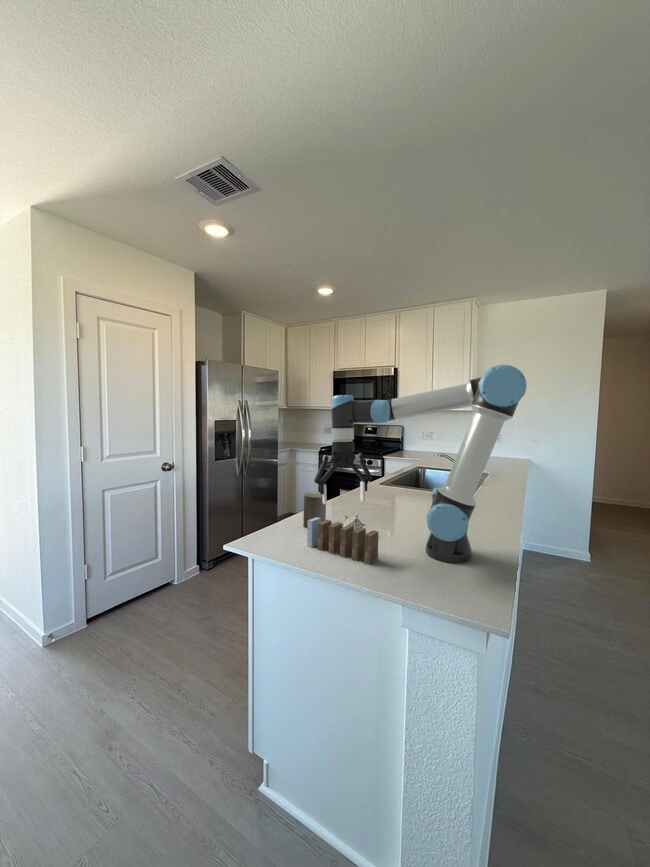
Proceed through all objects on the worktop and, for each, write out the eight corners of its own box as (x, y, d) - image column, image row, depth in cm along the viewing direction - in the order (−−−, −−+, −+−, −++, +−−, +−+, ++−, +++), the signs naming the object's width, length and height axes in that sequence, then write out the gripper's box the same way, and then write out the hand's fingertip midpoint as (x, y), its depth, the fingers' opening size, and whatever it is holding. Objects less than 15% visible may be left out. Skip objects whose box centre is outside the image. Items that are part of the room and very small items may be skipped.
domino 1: (320, 543, 134) (320, 518, 133) (311, 547, 129) (311, 521, 129) (316, 542, 135) (316, 517, 134) (307, 546, 131) (307, 520, 130)
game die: (356, 546, 141) (363, 531, 135) (336, 537, 142) (342, 522, 136) (362, 529, 148) (369, 514, 141) (343, 521, 149) (349, 506, 143)
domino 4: (353, 552, 125) (353, 525, 124) (345, 557, 121) (345, 529, 120) (348, 551, 126) (348, 524, 126) (340, 556, 122) (340, 528, 121)
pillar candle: (300, 528, 151) (300, 492, 150) (306, 521, 161) (307, 488, 160) (322, 530, 149) (323, 494, 148) (328, 523, 158) (328, 489, 157)
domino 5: (365, 556, 122) (365, 528, 121) (357, 561, 118) (357, 532, 117) (360, 554, 123) (360, 527, 123) (352, 559, 119) (352, 531, 119)
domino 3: (341, 549, 128) (342, 523, 127) (333, 554, 124) (333, 526, 123) (337, 548, 129) (337, 522, 128) (328, 552, 125) (329, 525, 124)
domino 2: (330, 546, 131) (331, 520, 130) (322, 550, 126) (322, 524, 126) (326, 545, 132) (326, 519, 131) (317, 549, 128) (318, 522, 127)
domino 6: (377, 559, 119) (378, 531, 119) (370, 565, 115) (370, 535, 114) (372, 558, 120) (373, 530, 120) (364, 563, 116) (365, 534, 116)
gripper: (373, 439, 129) (374, 497, 130) (305, 441, 124) (306, 502, 125) (381, 440, 122) (382, 502, 123) (308, 442, 116) (310, 507, 117)
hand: (343, 502), depth 124 cm, fingers open, 13 cm apart
